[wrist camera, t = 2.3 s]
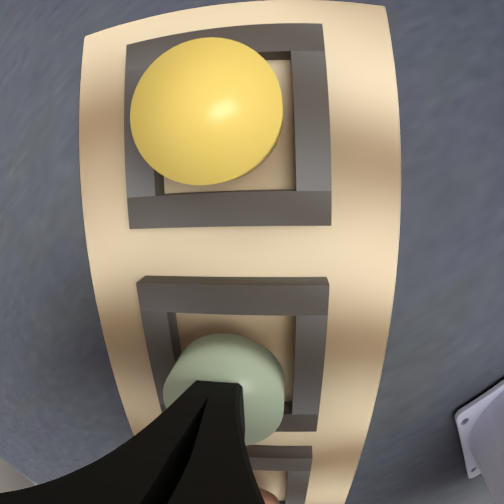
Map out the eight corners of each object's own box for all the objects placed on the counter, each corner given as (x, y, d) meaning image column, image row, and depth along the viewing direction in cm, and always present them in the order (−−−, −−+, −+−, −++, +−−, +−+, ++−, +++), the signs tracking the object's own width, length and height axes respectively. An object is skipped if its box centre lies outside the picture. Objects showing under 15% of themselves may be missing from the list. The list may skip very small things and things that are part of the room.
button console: (337, 487, 16) (340, 525, 13) (172, 477, 17) (159, 512, 14) (369, 32, 10) (390, -4, 7) (114, 53, 11) (73, 30, 8)
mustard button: (309, 137, 8) (313, 130, 7) (194, 208, 9) (177, 215, 7) (237, 34, 7) (228, 12, 6) (132, 105, 8) (107, 96, 7)
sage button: (304, 397, 10) (305, 426, 8) (216, 429, 11) (208, 456, 9) (246, 314, 9) (239, 337, 8) (155, 358, 10) (140, 382, 9)
